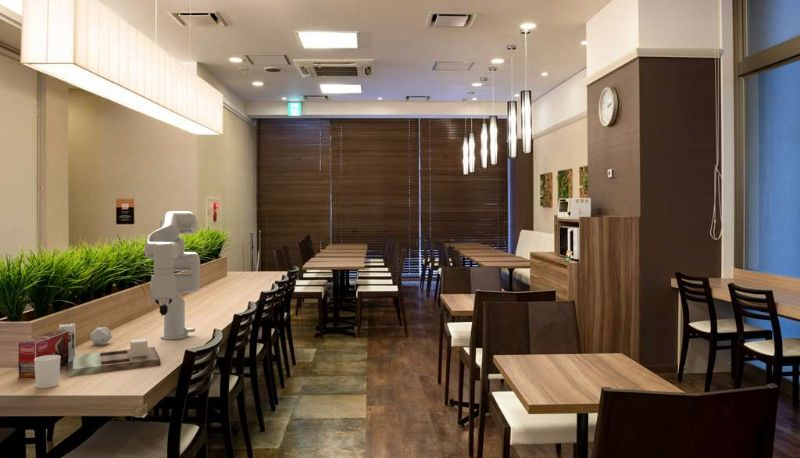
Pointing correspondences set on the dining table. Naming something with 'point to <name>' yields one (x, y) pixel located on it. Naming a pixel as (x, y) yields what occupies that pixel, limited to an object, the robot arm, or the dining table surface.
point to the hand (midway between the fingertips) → (163, 314)
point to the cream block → (138, 347)
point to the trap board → (109, 361)
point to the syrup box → (71, 330)
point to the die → (100, 336)
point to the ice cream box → (42, 351)
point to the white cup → (47, 371)
